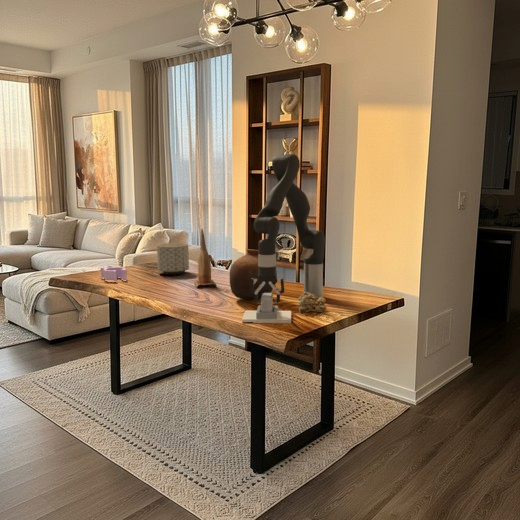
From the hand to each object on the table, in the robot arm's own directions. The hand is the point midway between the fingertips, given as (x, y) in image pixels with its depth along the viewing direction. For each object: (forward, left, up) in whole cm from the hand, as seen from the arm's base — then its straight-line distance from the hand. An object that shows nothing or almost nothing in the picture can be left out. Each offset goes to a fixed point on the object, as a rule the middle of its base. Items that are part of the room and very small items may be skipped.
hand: (267, 302), depth 214 cm
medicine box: (0, 0, -6) cm, 6 cm away
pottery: (-32, -9, -7) cm, 34 cm away
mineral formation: (-14, +19, -7) cm, 25 cm away
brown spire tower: (-63, -38, -7) cm, 74 cm away
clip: (-80, -95, -7) cm, 125 cm away
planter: (-98, -64, -7) cm, 117 cm away
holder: (0, 0, -7) cm, 7 cm away
